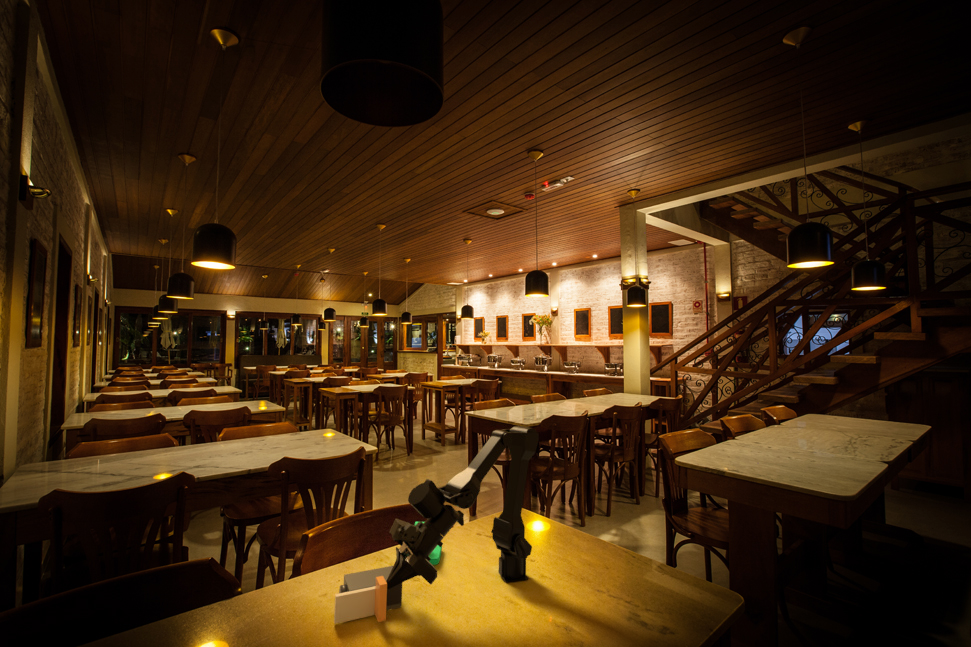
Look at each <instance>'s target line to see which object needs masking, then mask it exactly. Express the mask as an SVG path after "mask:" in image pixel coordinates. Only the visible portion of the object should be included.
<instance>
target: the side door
mask: <svg viewBox="0 0 971 647" xmlns="http://www.w3.org/2000/svg"><path fill="white" fill-rule="evenodd" d="M334 595H335V596H334V612H333V613H334V614H333V623H334V625H336V624H341V623H346V622H349V621H355V620H358V619H363V618H366V617H372V616H374V615H375V618H376V619H377V622H378V623H381V622H386V621H387V611H386V601H387V582H386V581H385V579H384V577H383V576H379V577H376V586H373V587H368V588H363V589H359V590H354V591H349V592H344V593H339V592H338V593H335V594H334Z"/></svg>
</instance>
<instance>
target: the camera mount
mask: <svg viewBox="0 0 971 647" xmlns="http://www.w3.org/2000/svg"><path fill="white" fill-rule="evenodd" d="M418 522H419V521H415V522H414V525H415V526H416V525H417V523H418ZM421 522H422V523H424V522H425V521H421ZM442 551H443V545H442V546H441V547H439V546H438V545H437V547H436V548H435V549H434V550H433V551H432V553H431V554H430V555H429V557H430V558H431V560H430V561H429V562H430V563H431V564H432V565H433V566H435V565H438V564H439V563H440V561H441V557H442Z"/></svg>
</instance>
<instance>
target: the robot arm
mask: <svg viewBox="0 0 971 647" xmlns="http://www.w3.org/2000/svg"><path fill="white" fill-rule="evenodd" d="M539 440H540V438H539V433H538V431H537V430H536V428H533V427H529V426H521V425H514V426H513V427H511V428H505V429H504V428H503V429H495V430H493V431H492V432H491V435H490V438H489V439H487V441H486V442H485V444H484V445H483V447H481V449H480V450H479V452H478V453H477V454H476V456H475V457H474V458H473V460H472V461H471V462H470V463H469V465H468V466H467V467H466V468H465V469H464V470H463V471H460V472H458V473H457V474H455V475H454V476H453V477H452V478H451V479H450V480H449V481H448V482H447V483H446V484H445V485H443V486H441V487H438V486H437V485H436V483H435V482H434V481H433V480H431V479H428V478H427V479H426V480H425V481H424V482H422V483H419V484H417V485H416V486H415V487H413V488H412V489H411V491H410V493H409V495H408V497H407V498H408V499H407V501H408V503H409V504H410V505H411V506H412V508H414V509H415V510H416V511H417V512H418V513H419V514H420V515H421V516H422V517H423V518H424V519H426V520H425V521H417V522H418V523H417V525H416V526H415V524H413V523H412V524H411V523H410V522H407V521H405V520H401V519H399V518H395V519H394V521H393V524H392V525H391V527H390V530H389V534H391V538H392V540H393V541H394V542H395V543H397V544H399V546H400V547H397V546H396V547H395V553H396V557H395V558H396V559H395V561H394V565H392V566H393V568H392V570H391V572H390V574H389V576H388V578H387V581H386V582H387V589H390V588H392V587H394V586H396V585H398V584H400V583H402V584H403V583H404V582H406V581H409V580H411V579H414V578H415V577H421V578H422V579H424V580H425V581H426V582H427V583H428V584H429V585H433V583H434V582H435V581H436V579H437V578H438V570H437V568H435V565H432V564H431V563H430V562H429V561H430V560H431V558H430V557H429V555H430V554H431V553H432V551H433V550H434V549H435V548H436V547H437V545H438V546H439V547H441V546H442V547H443V545H444V543H443V542H442V540H443V539H444V538H445V537H446V535H447V534H448V533H449V532H450V530H451V529H452V528H453V527H454V526H455V524H456V523H457V524H459V525H460V526H461V527H463V526H464V525H465V522H464V521H465V520H464V516H465V514H464V512H462V511H461V510H460V509H463V510H465V509H470V508H471V507H472V506H473V505H474V503H475V501H476V499H477V498H478V496H479V494H480V492H481V487H482V486H481V485H482V482H483V480H484V479H485V477H486V476H487V474H488V473H489V471H490V470H491V469H492V468H493V466H494V465H495V464H496V463H497V461H498V460H499V458H500V456H501V455H502V454H503V453H504V451H505V450H506V448H508V452H509V454H510V463H509V464H510V465H509V470H508V475H507V484H506V490H505V497H504V503H503V509H502V512H501V513H500V515H498V517H496V516H495V517H494V518H493V523H492V529H491V531H490V532H491V534H492V536H491V537H492V540H493V542H494V544H495V547H496V549H497V550H499V551H500V556H499V557H498V570H497V571H498V573H499V575H500V577H502V580H503V581H504V582H505V583H514V582H521V581H528V580H529V576H528V575H527V558H528V556H531V553H532V549H533V546H532V545H531V543H530V542H529V541H528V540H527V539H526V538H525V533H526V532H525V531H526V530H525V529H526V528H525V524H524V521H523V517H522V511H523V510H522V509H523V503H524V497H525V489H526V484H527V475H528V469H529V462H530V460H531V459H532V458H533V456H534V455H535V453H536V452H537V448H538V444H539ZM445 503H447V504H445ZM452 505H453V506H455V507H457V508H460V509H459V510H456V509H455V508H454V507H453V506H452ZM422 522H424V523H422Z"/></svg>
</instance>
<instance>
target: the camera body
mask: <svg viewBox="0 0 971 647" xmlns="http://www.w3.org/2000/svg"><path fill="white" fill-rule="evenodd" d="M393 566H394V565H388V566H384V567H379V568H373V569H368V570H362V571H357V572H351V573H346V574H343V584H340V585H339V589H338V590H339V592H338V594H339V593H344V592H349V591H354V590H359V589H363V588H368V587H373V586H376V577H379V576H383V577H384V579H385V581H387V578H388V576H389V574H390V572H391V570H392V568H393ZM402 604H403V582H402V583H400V584H398V585H396V586H394V587H392V588H390V589H387V601H386V612H387V611H390V610H394V609H399V608H402Z"/></svg>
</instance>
